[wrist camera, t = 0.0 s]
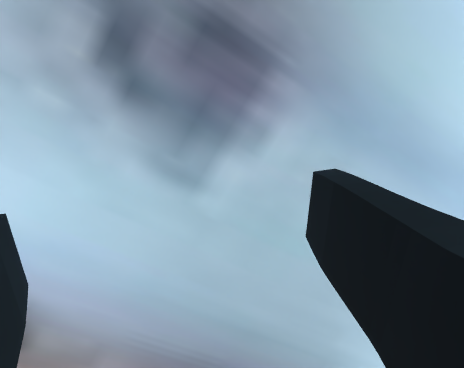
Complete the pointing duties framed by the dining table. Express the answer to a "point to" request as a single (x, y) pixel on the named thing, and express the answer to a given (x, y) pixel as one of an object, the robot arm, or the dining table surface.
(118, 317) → the dining table surface
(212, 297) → the dining table surface
